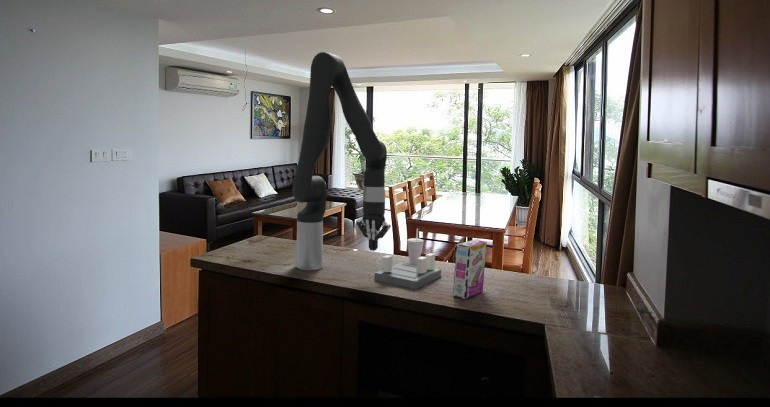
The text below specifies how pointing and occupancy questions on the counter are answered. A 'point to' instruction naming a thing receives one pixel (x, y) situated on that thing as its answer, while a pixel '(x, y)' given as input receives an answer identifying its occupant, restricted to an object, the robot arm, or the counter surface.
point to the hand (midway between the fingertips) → (373, 250)
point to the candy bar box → (469, 268)
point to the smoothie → (414, 248)
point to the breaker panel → (411, 273)
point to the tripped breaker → (387, 263)
